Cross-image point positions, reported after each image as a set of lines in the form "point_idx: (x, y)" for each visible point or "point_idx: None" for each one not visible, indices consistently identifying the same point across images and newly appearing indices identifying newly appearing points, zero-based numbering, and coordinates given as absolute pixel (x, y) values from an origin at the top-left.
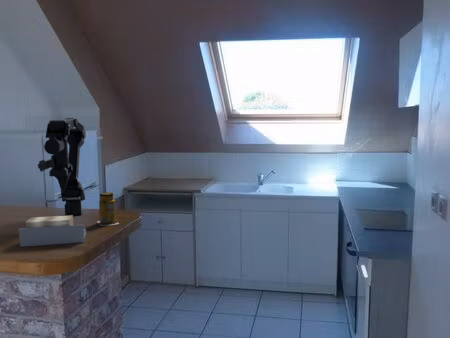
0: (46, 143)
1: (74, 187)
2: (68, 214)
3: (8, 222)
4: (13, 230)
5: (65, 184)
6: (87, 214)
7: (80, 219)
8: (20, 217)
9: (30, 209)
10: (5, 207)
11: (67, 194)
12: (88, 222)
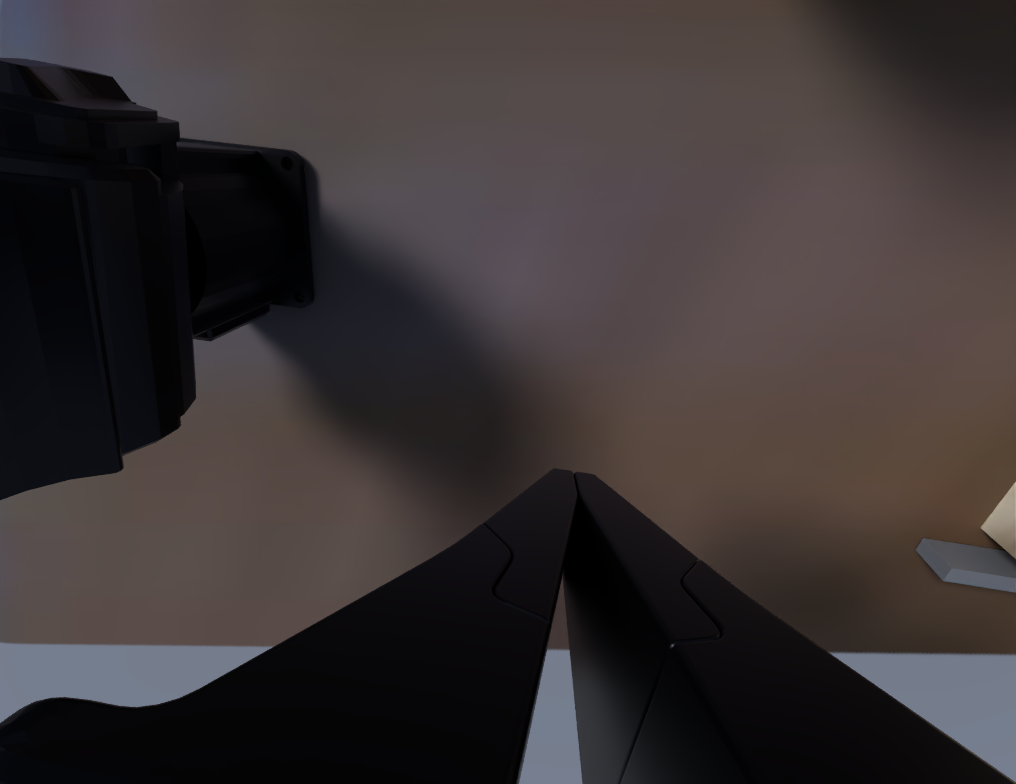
0: None
1: (71, 256)
2: (291, 283)
3: None
4: None
5: (670, 552)
6: (267, 81)
7: (480, 163)
8: (284, 581)
9: (54, 532)
10: (9, 640)
11: (186, 350)
12: (658, 68)
